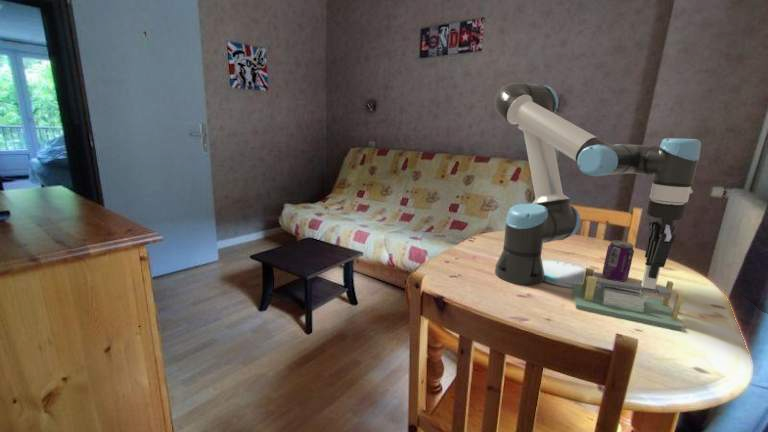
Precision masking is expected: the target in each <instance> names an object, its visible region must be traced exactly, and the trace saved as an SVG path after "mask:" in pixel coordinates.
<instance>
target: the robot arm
mask: <svg viewBox="0 0 768 432" xmlns="http://www.w3.org/2000/svg"><path fill="white" fill-rule="evenodd" d="M558 107H559V97H558V94H557V92H556V91H555V90H554V88H552V87H550V86H547V85H544V84H541V83H535V84H534V83H525V82H511V83H507V84H506V85H504V86H503V87H501V88H500V89H499V90H498V92H497V94H496V96H495V98H494V109H495V111H496V113H497V114H498V116H499V117H501V118H502V119H503V120H505V121H506V122H508V123H509V124H510V125H517V129H518V130H520V131H522V133H523V136H524V142H525V147H526V152H527V153H526V154H527V159H528V164H529V169H530V175H531V181H532V187H533V192H534V199H533V201H532V202H531V203H519V204H515V205H513V206H511V207H510V208H509V210H508V211H507V217H506V219H505V229H504V230H505V231H504V238H503V239H504V240H503V248H502V252H501V253H500V255H499V257H498V259H497V261H496V264H495V268H494V273H495V274H496V276H498V277H499V278H500V279H502V280H505V281H506V282H509V283H512V284H517V285H521V286H522V285H524V286H528V285H529V286H534V285H539V284H541V283H543V281H544V278H545V270H544V266H543V265H544V264H543V260H542V253H543V251H542V250H543V247H544V246H543V245H544V244H546V243H550V242H555V241H564V240H566V239H568V238H571V237H573V236H574V235H575V234H576V233H577V232H578V231H579V229H580V227H581V214H580V213H579V211H578V209H577V208H575V207H574V206H573V205H571V202H570V197H568V196H567V195H565V194H564V192H563V188H562V182H561V177H560V170H559V165H558V160H557V154H556V150H558V151H559V152H561V153H562V154H564V155H565V156H567V157H568V158H570V159H571V160H573V161H574V162H576V163H577V167H578V168H579V170H580V172H581V173H582V174H584V175H587V176H590V177H591V176H593V177H604V176H612V175H613V176H615V175H623V174H624V175H625V174H636V175H645V176H653V181H652V183H651V189H650V194H649V198H650V200H649V201H648V204H647V209H646V214H647V215H648V216H649V217H652V218H653V221H649V223H648V234H647V240H646V248H645V254H644V258H646V259H645V262H644V263H645V268H644V272H643V276H642V280H641V285H642V287H643V288H649V289H655V288H656V285H657V282H658V278H659V273H660V270H661V268H665V265H666V262H667V260H668V257H669V254H670V251H671V248H672V245H673V243H674V241H675V239H676V234H673V233H674V230H675V226H674V221H678V220H679V221H680V220H684V218H685V216H686V212H687V207H688V205H687V204H686V203H688V202H689V199H690V198H689V197H690V194H693V193H694V191H693V189H692V186H693V182H694V179H695V178H694V177H695V174H696V170H697V168H698V164H699V161H700V153H701V147H702V142H701V141H700V140H699V139H696V138H676V137H675V138H670V137H669V138H667V137H666V138H664V139H662V140H661V143H660V145H643V144H630V143H619V144H618V143H617V144H610V143H608V142H606V141H605V140H603V139H601V138H598V136H595V135H594V134H592V133H590V132H588V131H586V130H585V129H583V128H581V127H579V126H577V125H575V124H574V123H572V122H570V121H569V120H566V119H565V118H563V117H561V116H560V115H558V114H556V113H557V109H558Z"/></svg>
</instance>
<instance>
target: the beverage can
mask: <svg viewBox="0 0 768 432" xmlns="http://www.w3.org/2000/svg"><path fill="white" fill-rule="evenodd" d="M634 253H635V251H634V245H633V244H632V243H630V242H628V241H621V240H611V241H610V244H609V245H608V246H607V249H606V254H605V259H604V263H603V269H602V273H601V274H602V275H603V276H605V277H606V278H607V279H608V280H613V281H620V282H624V281H627V280H628V279H629V276H630V271H631V267H632V262H633V257H634Z"/></svg>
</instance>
